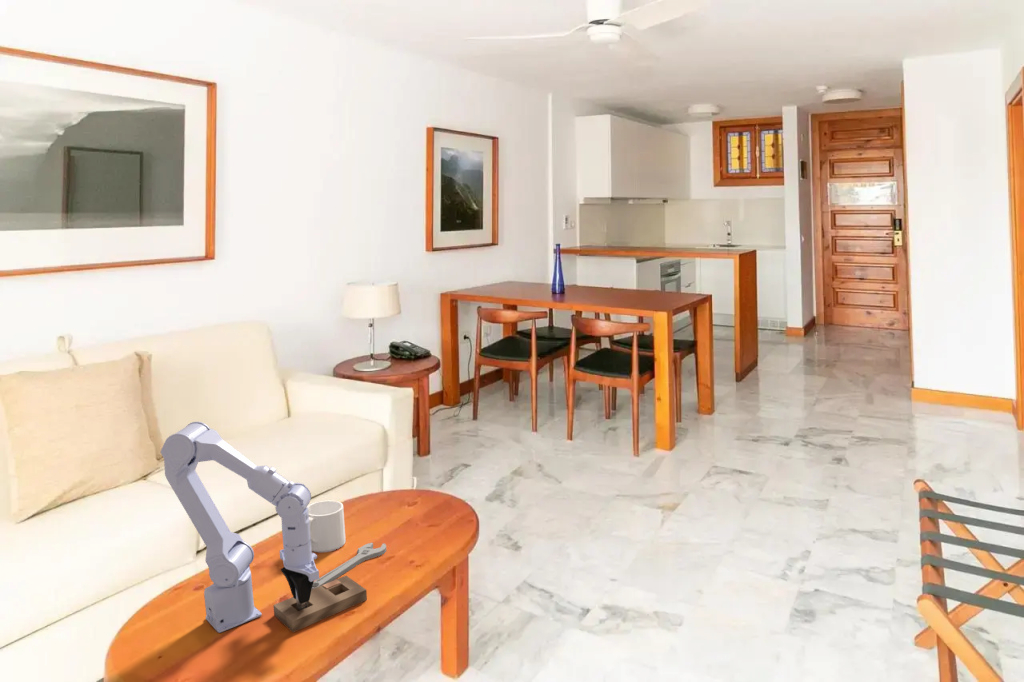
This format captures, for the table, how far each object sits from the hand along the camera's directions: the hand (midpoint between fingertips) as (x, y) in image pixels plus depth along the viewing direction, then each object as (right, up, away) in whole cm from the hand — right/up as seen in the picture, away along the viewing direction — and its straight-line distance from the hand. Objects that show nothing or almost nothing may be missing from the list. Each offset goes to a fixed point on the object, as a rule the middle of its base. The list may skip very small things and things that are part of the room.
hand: (301, 599), depth 152 cm
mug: (-4, +2, +33) cm, 34 cm away
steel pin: (0, -4, +1) cm, 4 cm away
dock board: (+3, -3, +4) cm, 6 cm away
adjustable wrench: (+5, -1, +22) cm, 22 cm away
